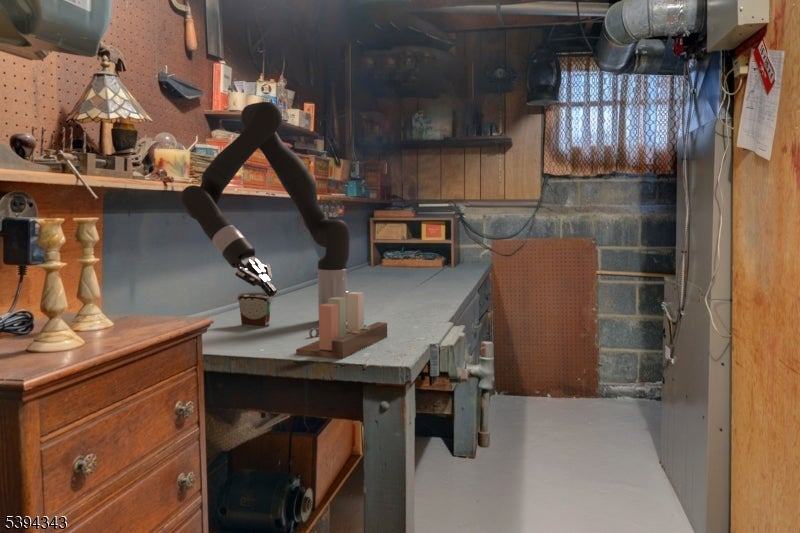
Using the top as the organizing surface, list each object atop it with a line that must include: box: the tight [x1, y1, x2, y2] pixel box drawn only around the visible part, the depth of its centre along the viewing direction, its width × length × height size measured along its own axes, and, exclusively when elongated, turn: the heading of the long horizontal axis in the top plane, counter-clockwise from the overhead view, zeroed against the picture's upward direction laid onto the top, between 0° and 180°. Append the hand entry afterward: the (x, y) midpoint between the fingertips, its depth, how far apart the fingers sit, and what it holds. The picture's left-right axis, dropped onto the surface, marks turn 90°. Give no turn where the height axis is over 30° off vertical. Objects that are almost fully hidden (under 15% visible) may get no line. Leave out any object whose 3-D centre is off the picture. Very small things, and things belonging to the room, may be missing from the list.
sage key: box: [328, 297, 347, 338], centre depth 161 cm, size 4×4×11 cm
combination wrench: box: [308, 323, 367, 338], centre depth 177 cm, size 4×1×20 cm
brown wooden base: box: [295, 321, 388, 359], centre depth 161 cm, size 13×27×4 cm, turn 158°
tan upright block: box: [346, 291, 365, 332], centre depth 171 cm, size 4×4×11 cm
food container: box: [236, 291, 274, 328], centre depth 190 cm, size 12×6×10 cm, turn 65°
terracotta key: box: [318, 304, 338, 350], centre depth 150 cm, size 4×4×11 cm
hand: (273, 294), depth 155 cm, fingers closed
